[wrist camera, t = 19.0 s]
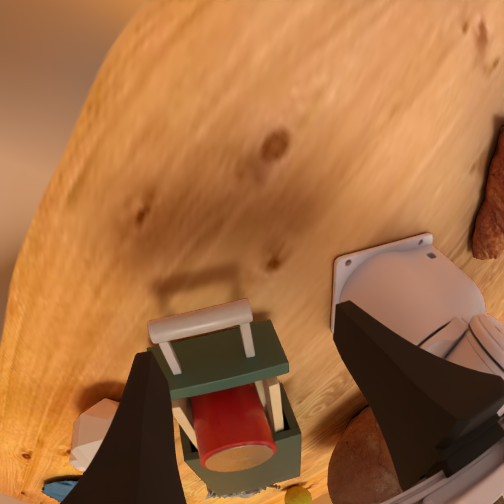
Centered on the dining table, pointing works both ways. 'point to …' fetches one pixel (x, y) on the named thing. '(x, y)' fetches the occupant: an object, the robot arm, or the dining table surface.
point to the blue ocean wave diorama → (59, 489)
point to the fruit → (297, 496)
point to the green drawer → (219, 358)
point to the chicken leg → (91, 432)
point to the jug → (363, 465)
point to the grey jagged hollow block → (240, 494)
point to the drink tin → (232, 429)
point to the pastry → (491, 210)
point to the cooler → (267, 473)
